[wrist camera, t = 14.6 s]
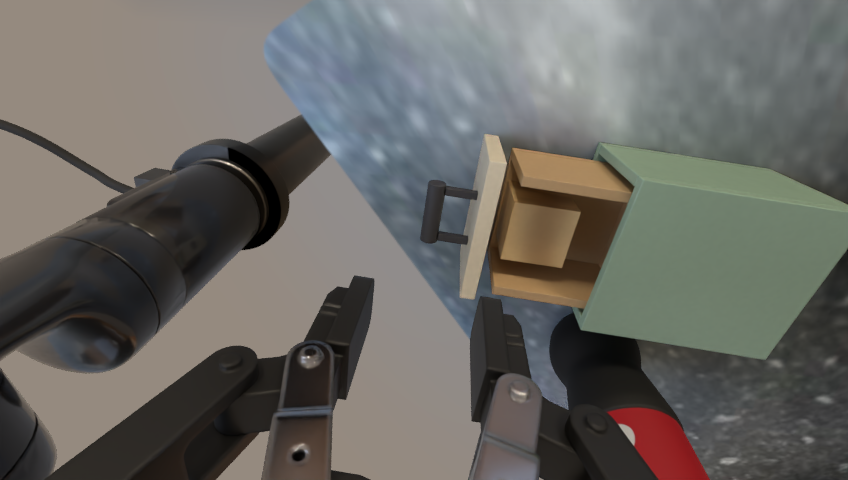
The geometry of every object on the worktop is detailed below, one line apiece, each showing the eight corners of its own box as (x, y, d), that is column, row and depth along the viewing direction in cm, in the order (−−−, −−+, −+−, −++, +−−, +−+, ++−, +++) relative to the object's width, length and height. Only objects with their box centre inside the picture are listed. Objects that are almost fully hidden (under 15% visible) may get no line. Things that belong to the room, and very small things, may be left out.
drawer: (420, 243, 39) (411, 289, 32) (438, 126, 34) (431, 151, 27) (597, 272, 39) (626, 324, 32) (644, 158, 33) (691, 192, 26)
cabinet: (555, 266, 40) (580, 330, 31) (598, 141, 34) (643, 179, 25) (701, 289, 40) (765, 360, 31) (770, 168, 34) (873, 215, 25)
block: (495, 231, 36) (500, 259, 32) (507, 179, 34) (514, 202, 30) (550, 239, 36) (562, 268, 32) (566, 188, 34) (581, 212, 30)
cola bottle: (529, 326, 44) (630, 784, 17) (600, 287, 41) (855, 772, 14) (571, 372, 46) (714, 832, 20) (640, 339, 43) (920, 830, 17)
